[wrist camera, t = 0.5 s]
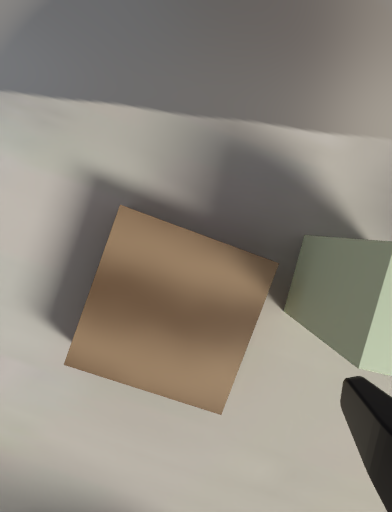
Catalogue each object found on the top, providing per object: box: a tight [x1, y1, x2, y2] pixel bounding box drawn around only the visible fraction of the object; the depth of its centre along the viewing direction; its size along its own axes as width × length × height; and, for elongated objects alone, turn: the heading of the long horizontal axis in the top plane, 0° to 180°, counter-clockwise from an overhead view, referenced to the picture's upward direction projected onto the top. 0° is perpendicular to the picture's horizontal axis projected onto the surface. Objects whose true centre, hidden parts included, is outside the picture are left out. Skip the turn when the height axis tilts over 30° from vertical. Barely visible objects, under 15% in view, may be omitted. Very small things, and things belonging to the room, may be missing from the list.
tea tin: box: [284, 235, 392, 376], centre depth 20 cm, size 6×6×10 cm
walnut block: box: [64, 205, 279, 415], centre depth 23 cm, size 10×10×4 cm
